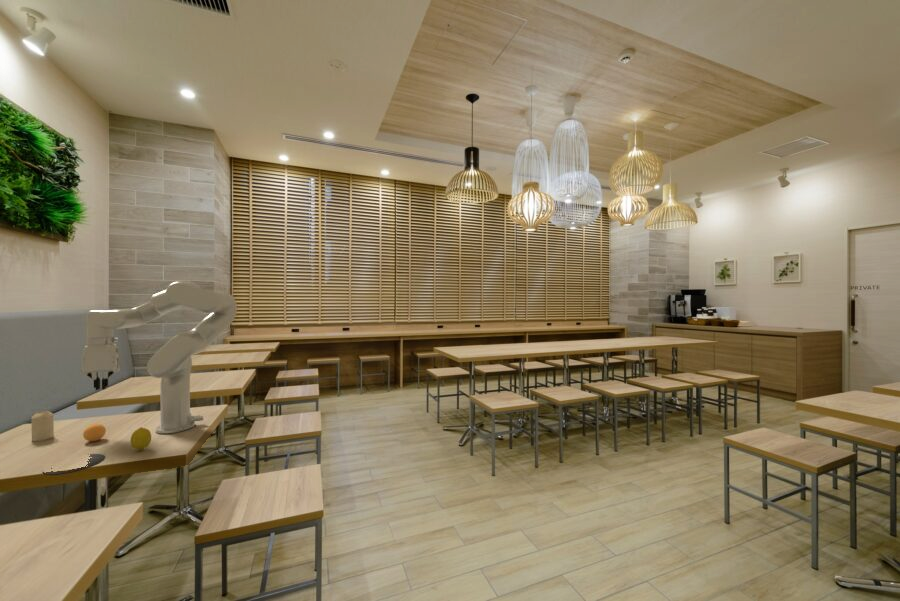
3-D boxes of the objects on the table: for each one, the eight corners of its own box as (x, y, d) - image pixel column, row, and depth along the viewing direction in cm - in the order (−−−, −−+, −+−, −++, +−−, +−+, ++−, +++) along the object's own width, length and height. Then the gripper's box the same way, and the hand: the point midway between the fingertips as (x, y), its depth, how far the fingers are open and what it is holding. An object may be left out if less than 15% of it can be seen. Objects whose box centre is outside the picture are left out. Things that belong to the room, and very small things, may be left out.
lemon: (139, 454, 124) (139, 430, 124) (126, 453, 126) (126, 429, 125) (155, 447, 130) (155, 425, 130) (142, 446, 131) (142, 424, 131)
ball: (107, 436, 140) (107, 420, 140) (103, 441, 135) (103, 425, 135) (86, 439, 137) (85, 423, 137) (81, 445, 132) (80, 428, 132)
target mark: (110, 451, 127) (110, 450, 127) (98, 467, 115) (98, 466, 115) (52, 460, 120) (52, 460, 120) (33, 479, 108) (33, 478, 108)
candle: (28, 442, 135) (27, 415, 134) (37, 437, 140) (36, 410, 139) (48, 440, 137) (48, 413, 137) (57, 434, 142) (56, 408, 142)
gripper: (128, 339, 151) (129, 384, 151) (76, 342, 143) (76, 389, 143) (124, 341, 145) (125, 388, 145) (69, 344, 136) (70, 394, 137)
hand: (101, 388), depth 144 cm, fingers closed
